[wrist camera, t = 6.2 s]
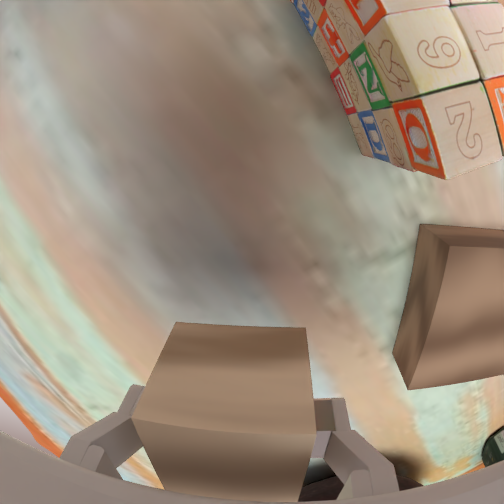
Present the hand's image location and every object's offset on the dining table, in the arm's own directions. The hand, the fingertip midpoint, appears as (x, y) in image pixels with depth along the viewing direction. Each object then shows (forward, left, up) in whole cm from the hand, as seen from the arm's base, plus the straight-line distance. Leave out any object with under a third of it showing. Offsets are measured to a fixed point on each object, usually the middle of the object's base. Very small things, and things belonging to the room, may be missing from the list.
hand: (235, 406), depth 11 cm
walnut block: (+2, +18, -14) cm, 23 cm away
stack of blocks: (-19, +6, -14) cm, 25 cm away
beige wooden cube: (0, 0, -2) cm, 2 cm away
